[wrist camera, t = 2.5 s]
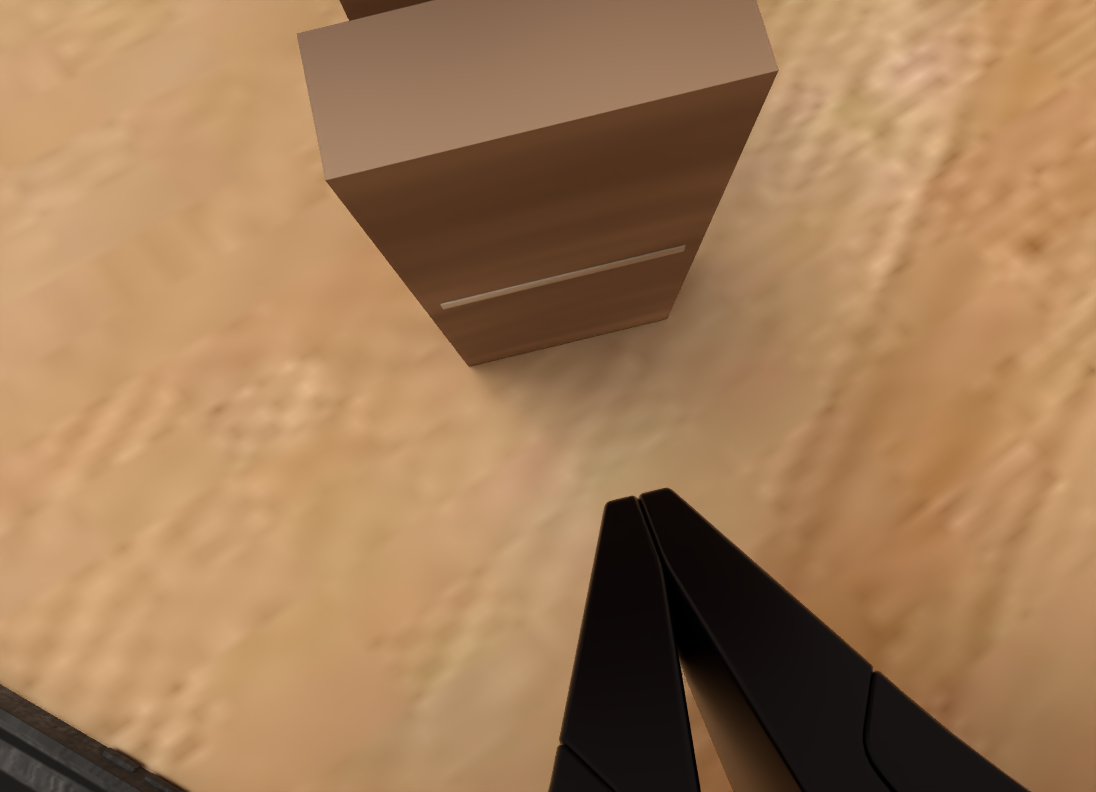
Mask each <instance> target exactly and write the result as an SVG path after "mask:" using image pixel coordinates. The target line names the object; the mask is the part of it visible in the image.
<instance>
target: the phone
mask: <svg viewBox="0 0 1096 792" xmlns="http://www.w3.org/2000/svg"><path fill="white" fill-rule="evenodd" d="M0 792H183V791H182V790H180V789H178V788H177V787H175V786H173V785H171V784H170V783H168V782H166V781H165V780H163V779H161V778H160V777H158V776H156V775H154V774H153V773H150V772H148V771H147V770H145V769H143V768H142V767H140V765H139V764H138V763H136V762H134V761H132V760H131V759H129V758H127V757H126V756H124V755H122V754H121V753H119V752H117V751H115V750H114V749H112V748H108V747H106V746H104V745H103V744H101V743H99V742H97V741H96V740H94V739H92V738H91V737H89V736H87V735H86V734H84V733H82V732H80V731H79V730H77V729H75V728H74V727H72V726H70V725H69V724H67V723H65V722H63V721H62V720H60V719H58V718H57V717H55V716H53V715H52V714H50V713H48V712H46V711H45V710H43V709H41V708H40V707H38V706H36V705H35V704H33V703H31V702H29V701H28V700H26V699H24V698H23V697H21V696H19V695H18V694H16V693H14V692H12V691H11V690H9V689H7V688H6V687H4V686H2V685H1V684H0Z"/></svg>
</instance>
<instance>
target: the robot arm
mask: <svg viewBox="0 0 1096 792" xmlns="http://www.w3.org/2000/svg"><path fill="white" fill-rule="evenodd" d="M680 664H681V666H680ZM681 667H682V669H683V672H684V675H685V677H686V680H687V682H688V685H689V687H690V689H691V692H692V694H693V696H694V699H695V701H696V704H697V706H698V708H699V711H700V713H701V715H702V718H703V720H704V722H705V725H706V727H707V730H708V732H709V734H710V737H711V739H712V741H713V744H714V746H715V749H716V751H717V753H718V756H719V758H720V760H721V763H722V765H723V768H724V770H725V772H726V775H727V777H728V779H729V782H730V784H731V787H732V789H733V791H734V792H1031V791H1029V790H1028V789H1027V788H1025V787H1024V786H1022V785H1021V784H1020V783H1018V782H1017V781H1015V780H1014V779H1013V778H1011V777H1010V776H1009V775H1007V774H1006V773H1004V772H1003V771H1002V770H1000V769H999V768H998V767H996V766H995V765H994V764H992V763H991V762H990V761H989V760H987V759H986V758H985V757H983V756H982V755H981V754H979V753H978V752H977V751H975V750H974V749H973V748H971V747H970V746H969V745H967V744H966V743H965V742H963V741H962V740H961V739H959V738H958V737H957V736H955V735H954V734H953V733H951V732H950V731H949V730H948V729H947V728H945V727H944V726H943V725H942V724H941V723H939V722H938V721H937V720H936V719H935V718H933V717H932V716H931V715H930V714H929V713H927V712H926V711H925V710H924V709H923V708H921V707H920V706H919V705H918V704H917V703H915V702H914V701H913V700H912V699H911V698H909V697H908V696H907V695H906V694H905V693H904V692H902V691H901V690H900V689H899V688H898V687H897V686H896V685H895V684H893V683H892V682H891V681H890V680H889V679H888V678H887V677H885V676H884V675H883V674H882V673H881V672H880V671H874V672H873V666H872V665H871V664H870V663H869V662H868V661H867V660H866V659H865V658H863V657H862V656H861V655H860V654H859V653H858V652H857V651H855V650H854V649H853V648H852V647H851V646H850V645H849V644H847V643H846V642H845V641H844V640H843V639H842V638H841V637H839V636H838V635H837V634H836V633H835V632H834V631H833V630H831V629H830V628H829V627H828V626H827V625H826V624H825V623H824V622H822V621H821V620H820V619H819V618H818V617H817V616H816V615H814V614H813V613H812V612H811V611H810V610H809V609H808V608H806V607H805V606H804V605H803V604H802V603H801V602H800V601H798V600H797V599H796V598H795V597H794V596H793V595H792V594H790V593H789V592H788V591H787V590H786V589H785V588H784V587H782V586H781V585H780V584H779V583H778V582H777V581H776V580H774V579H773V578H772V577H771V576H770V575H769V574H768V573H767V572H765V571H764V570H763V569H762V568H761V567H760V566H759V565H757V564H756V563H755V562H754V561H753V560H752V559H751V558H749V557H748V556H747V555H746V554H745V553H744V552H743V551H741V550H740V549H739V548H738V547H737V546H736V545H735V544H733V543H732V542H731V541H730V540H729V539H728V538H727V537H725V536H724V535H723V534H722V533H721V532H720V531H719V530H717V529H716V528H715V527H714V526H713V525H712V524H711V523H710V522H708V521H707V520H706V519H705V518H704V517H703V516H702V515H700V514H699V513H698V512H697V511H696V510H695V509H694V508H692V507H691V506H690V505H689V504H688V503H687V502H686V501H684V500H683V499H682V498H681V497H680V496H679V495H678V494H676V493H675V492H674V491H673V490H671V489H669V488H663V489H658V490H654V491H650V492H646V493H642V494H641V495H640V496H639V499H638V498H637V497H635V496H629V497H624V498H620V499H616V500H612V501H609V502H607V503H606V505H605V507H604V511H603V516H602V522H601V527H600V532H599V537H598V542H597V547H596V552H595V558H594V563H593V568H592V573H591V578H590V583H589V589H588V594H587V599H586V604H585V609H584V614H583V619H582V625H581V630H580V635H579V640H578V645H577V650H576V655H575V661H574V666H573V671H572V676H571V681H570V686H569V691H568V697H567V702H566V707H565V712H564V717H563V722H562V728H561V733H560V738H559V741H560V744H561V745H559V746H558V747H557V751H556V756H555V761H554V767H553V772H552V777H551V782H550V786H549V790H548V792H701V790H700V784H699V777H698V771H697V765H696V759H695V753H694V746H693V740H692V734H691V728H690V722H689V716H688V709H687V703H686V697H685V691H684V685H683V679H682V672H681Z"/></svg>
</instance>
